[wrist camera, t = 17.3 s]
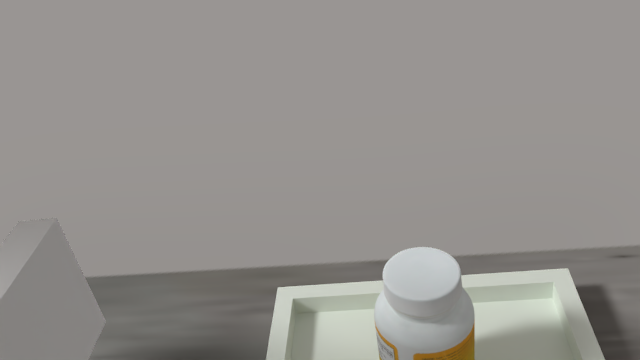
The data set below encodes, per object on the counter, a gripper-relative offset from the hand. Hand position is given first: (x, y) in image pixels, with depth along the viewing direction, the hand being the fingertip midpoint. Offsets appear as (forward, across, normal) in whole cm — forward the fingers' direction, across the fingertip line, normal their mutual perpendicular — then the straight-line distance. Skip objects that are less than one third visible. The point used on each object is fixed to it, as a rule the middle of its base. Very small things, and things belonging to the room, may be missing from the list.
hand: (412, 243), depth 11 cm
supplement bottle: (+15, +1, -24) cm, 28 cm away
